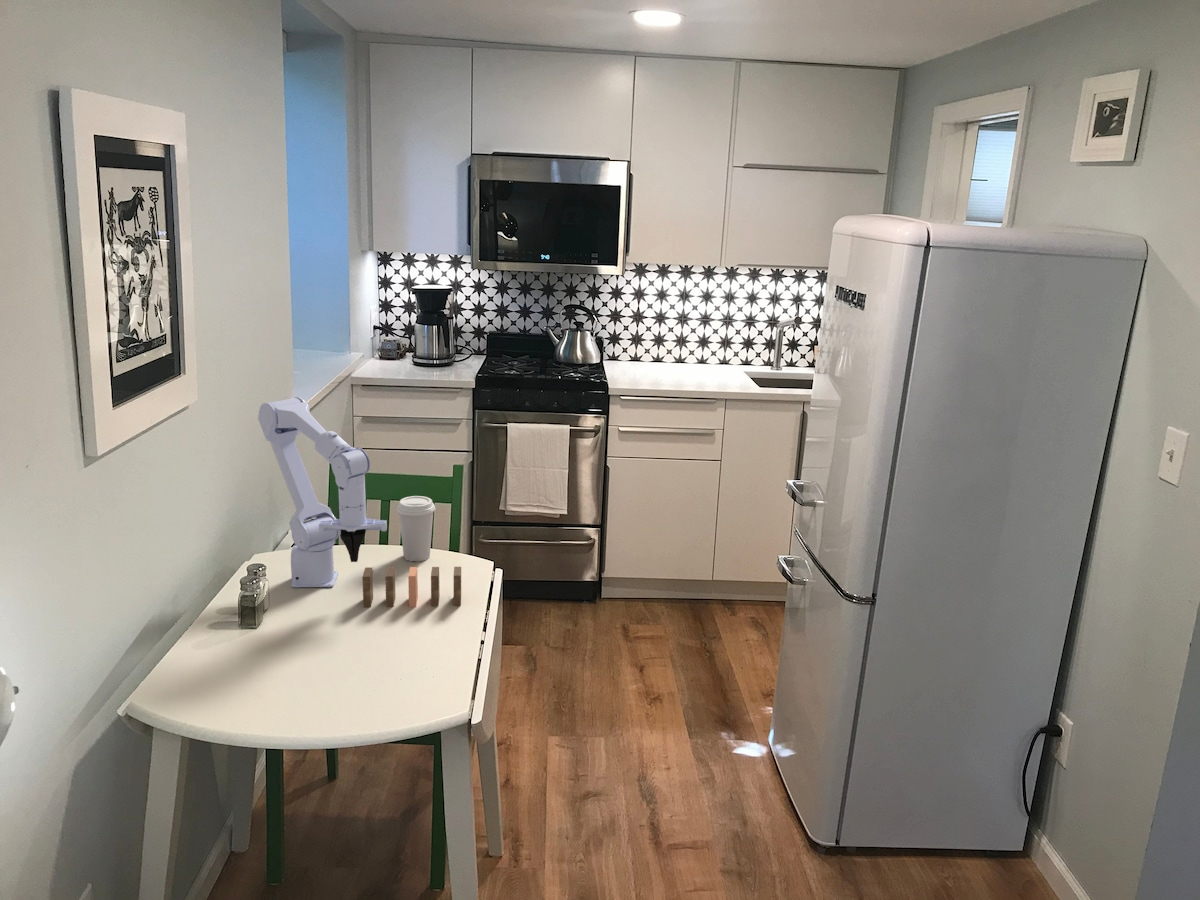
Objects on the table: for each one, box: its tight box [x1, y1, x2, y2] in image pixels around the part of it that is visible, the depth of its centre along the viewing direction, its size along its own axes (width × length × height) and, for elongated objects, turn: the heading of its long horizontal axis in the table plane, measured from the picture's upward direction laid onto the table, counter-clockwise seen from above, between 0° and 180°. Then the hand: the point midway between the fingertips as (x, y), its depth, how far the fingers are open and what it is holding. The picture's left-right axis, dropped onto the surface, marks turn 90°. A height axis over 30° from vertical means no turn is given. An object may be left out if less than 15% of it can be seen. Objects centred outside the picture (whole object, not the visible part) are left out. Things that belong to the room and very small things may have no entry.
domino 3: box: [407, 566, 419, 608], centre depth 212 cm, size 2×5×8 cm, turn 7°
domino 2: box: [384, 566, 396, 608], centre depth 212 cm, size 2×5×8 cm, turn 7°
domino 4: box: [430, 566, 440, 607], centre depth 213 cm, size 2×5×8 cm, turn 7°
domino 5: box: [453, 566, 462, 607], centre depth 214 cm, size 2×5×8 cm, turn 7°
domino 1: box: [361, 566, 374, 608], centre depth 211 cm, size 2×5×8 cm, turn 7°
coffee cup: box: [396, 495, 436, 562], centre depth 236 cm, size 10×10×15 cm
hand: (354, 560), depth 211 cm, fingers closed
